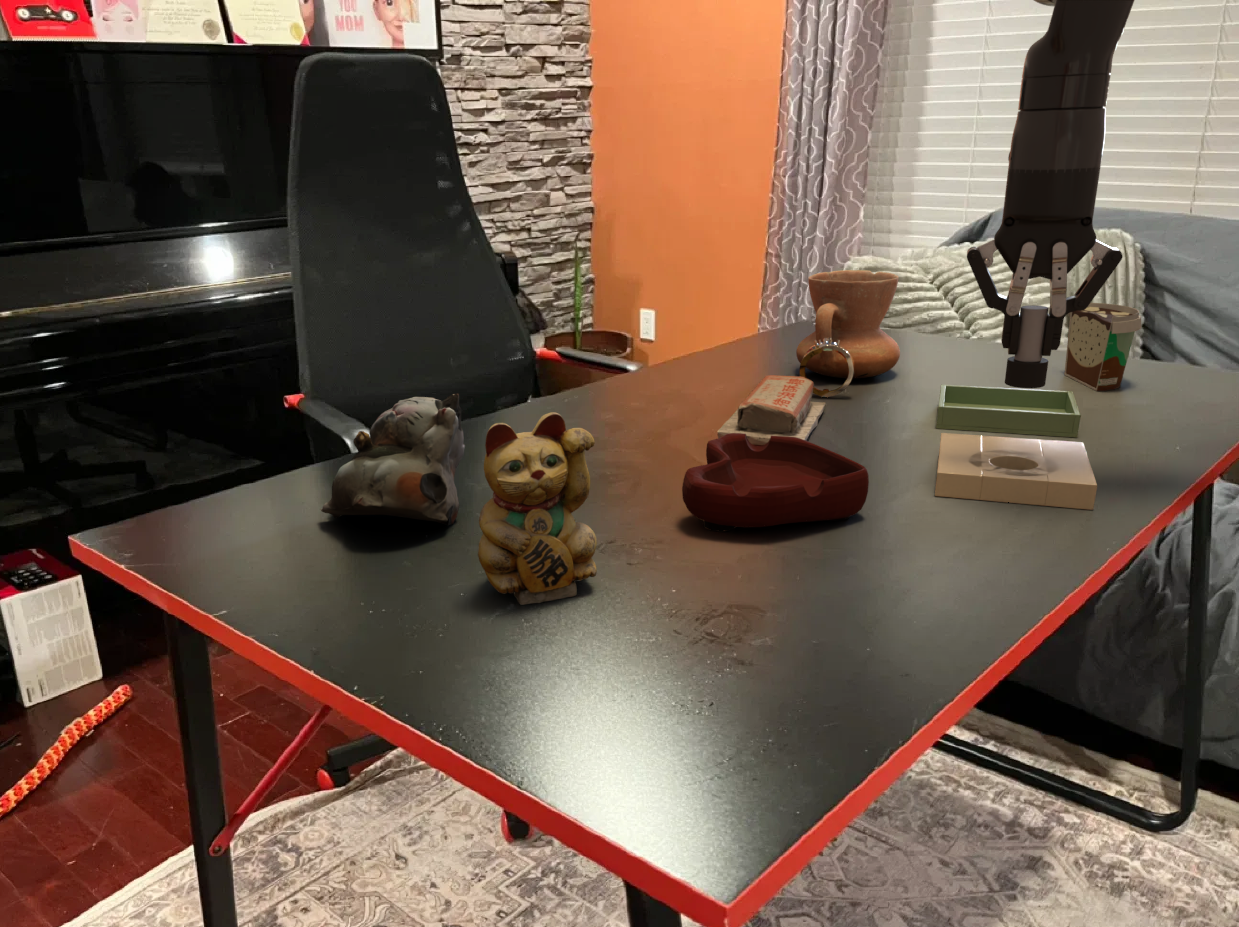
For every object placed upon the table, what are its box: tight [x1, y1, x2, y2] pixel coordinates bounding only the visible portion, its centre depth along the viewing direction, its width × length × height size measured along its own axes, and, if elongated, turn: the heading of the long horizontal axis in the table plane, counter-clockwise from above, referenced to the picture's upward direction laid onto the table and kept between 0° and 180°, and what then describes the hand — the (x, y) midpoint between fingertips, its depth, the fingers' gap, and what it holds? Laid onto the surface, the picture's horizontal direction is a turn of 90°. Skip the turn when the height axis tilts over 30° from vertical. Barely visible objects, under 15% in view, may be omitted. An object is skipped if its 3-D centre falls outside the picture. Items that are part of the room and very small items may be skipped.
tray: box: [935, 384, 1082, 438], centre depth 123 cm, size 15×11×3 cm
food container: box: [1063, 302, 1142, 392], centre depth 137 cm, size 12×6×10 cm, turn 179°
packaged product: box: [717, 374, 827, 446], centre depth 123 cm, size 18×5×10 cm
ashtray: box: [681, 433, 870, 532], centre depth 97 cm, size 18×16×5 cm
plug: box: [1004, 304, 1050, 389], centre depth 97 cm, size 4×4×7 cm
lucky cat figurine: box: [319, 393, 466, 526], centre depth 98 cm, size 15×12×14 cm
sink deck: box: [934, 432, 1098, 511], centre depth 103 cm, size 14×14×2 cm
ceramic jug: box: [795, 269, 901, 379], centre depth 145 cm, size 18×14×14 cm
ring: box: [799, 337, 855, 398], centre depth 135 cm, size 7×3×8 cm, turn 66°
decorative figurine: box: [477, 412, 598, 605], centre depth 81 cm, size 10×8×15 cm
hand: (1029, 352), depth 97 cm, fingers closed on plug, 2 cm apart
